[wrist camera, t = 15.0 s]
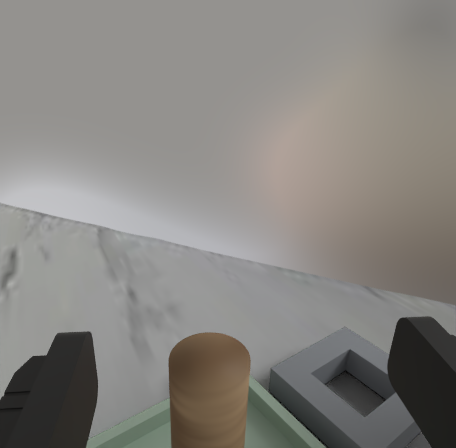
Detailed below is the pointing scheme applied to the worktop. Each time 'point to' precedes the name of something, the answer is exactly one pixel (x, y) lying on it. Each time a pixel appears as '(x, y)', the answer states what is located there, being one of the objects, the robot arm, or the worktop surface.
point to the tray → (254, 435)
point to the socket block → (334, 405)
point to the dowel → (208, 392)
